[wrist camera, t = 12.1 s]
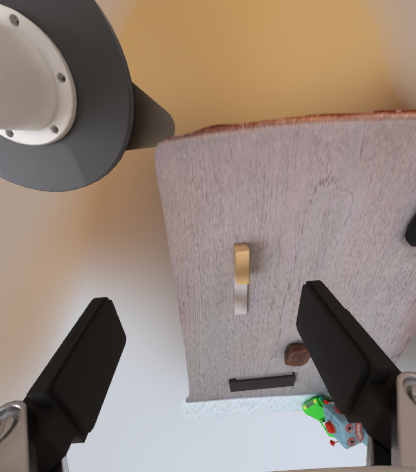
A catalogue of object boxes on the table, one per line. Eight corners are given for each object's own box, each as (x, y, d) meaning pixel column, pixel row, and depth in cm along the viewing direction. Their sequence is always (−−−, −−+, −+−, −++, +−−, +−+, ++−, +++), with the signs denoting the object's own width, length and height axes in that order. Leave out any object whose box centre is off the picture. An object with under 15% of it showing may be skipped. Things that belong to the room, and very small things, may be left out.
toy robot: (445, 431, 49) (350, 478, 42) (393, 398, 60) (311, 431, 53) (436, 377, 50) (340, 415, 43) (386, 354, 61) (304, 382, 54)
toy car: (341, 402, 60) (356, 431, 54) (324, 411, 62) (337, 440, 56) (315, 393, 57) (329, 424, 51) (299, 404, 59) (310, 433, 53)
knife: (232, 243, 35) (235, 251, 32) (247, 242, 35) (250, 250, 32) (234, 313, 42) (236, 323, 40) (246, 312, 42) (249, 322, 40)
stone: (289, 337, 46) (295, 350, 43) (315, 342, 47) (322, 355, 44) (276, 354, 49) (280, 367, 46) (301, 358, 50) (307, 371, 47)
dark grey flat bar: (228, 377, 53) (230, 386, 56) (229, 383, 52) (230, 392, 55) (293, 371, 53) (291, 380, 55) (295, 376, 51) (293, 385, 54)
